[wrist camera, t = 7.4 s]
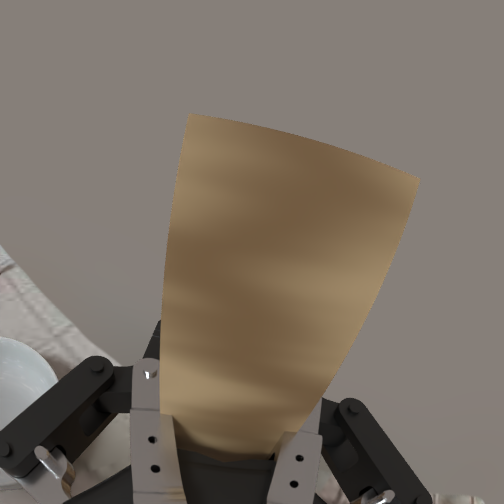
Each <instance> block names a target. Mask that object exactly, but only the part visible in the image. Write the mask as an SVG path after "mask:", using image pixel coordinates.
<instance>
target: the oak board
mask: <svg viewBox="0 0 504 504" xmlns="http://www.w3.org/2000/svg"><path fill="white" fill-rule="evenodd" d="M419 182H420V178H417V177H415V176H412V175H410V174H408V173H406V172H403V171H401V170H398V169H396V168H393V167H391V166H388V165H386V164H383V163H381V162H378V161H375V160H373V159H370V158H367V157H364V156H362V155H359V154H356V153H353V152H350V151H347V150H344V149H341V148H338V147H335V146H332V145H329V144H325V143H322V142H319V141H315V140H312V139H308V138H304V137H301V136H298V135H294V134H290V133H286V132H282V131H278V130H274V129H270V128H266V127H261V126H257V125H252V124H247V123H243V122H238V121H233V120H227V119H222V118H216V117H210V116H204V115H197V114H190V113H189V116H188V121H187V125H186V130H185V135H184V139H183V145H182V150H181V155H180V161H179V166H178V173H177V178H176V185H175V190H174V197H173V204H172V211H171V218H170V226H169V234H168V242H167V252H166V262H165V272H164V284H163V297H162V313H161V333H160V413H162V414H167V415H172V419H173V427H174V435H175V442H176V448H178V449H183V450H188V451H193V452H198V453H200V454H203V455H205V456H208V457H211V458H213V459H216V460H219V461H222V462H231V461H240V460H248V459H258V460H265V459H266V457H267V456H268V455H269V453H270V452H271V450H272V449H273V447H274V446H275V445H276V443H277V442H278V440H279V439H280V437H281V436H282V434H283V433H284V431H290V432H298V431H299V429H300V428H301V426H302V425H303V424H304V422H305V421H306V419H307V418H308V416H309V415H310V413H311V412H312V411H313V409H314V408H315V406H316V405H317V403H318V401H319V400H320V398H321V397H322V395H323V394H324V392H325V391H326V389H327V387H328V386H329V384H330V383H331V381H332V379H333V378H334V376H335V374H336V373H337V371H338V369H339V368H340V366H341V364H342V362H343V361H344V359H345V357H346V355H347V354H348V352H349V350H350V348H351V346H352V344H353V342H354V341H355V339H356V337H357V335H358V333H359V331H360V329H361V327H362V325H363V323H364V321H365V319H366V317H367V315H368V313H369V311H370V309H371V307H372V305H373V303H374V301H375V299H376V296H377V294H378V292H379V290H380V288H381V286H382V283H383V281H384V279H385V276H386V274H387V272H388V269H389V267H390V265H391V262H392V260H393V257H394V255H395V252H396V250H397V247H398V244H399V242H400V239H401V236H402V234H403V231H404V228H405V226H406V223H407V220H408V217H409V214H410V211H411V208H412V205H413V202H414V199H415V196H416V192H417V189H418V186H419Z"/></svg>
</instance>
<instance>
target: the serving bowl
mask: <svg viewBox="0 0 504 504" xmlns="http://www.w3.org/2000/svg"><path fill="white" fill-rule="evenodd" d="M58 381H59V380H58V377H57V375H56V374H55V372H54V370H53V369H52V367H51V366H50V364H49V363H48V362H47V361H46V360H45V359H44V357H43V356H41V355H40V354H39V353H38V352H37V351H36V350H34V349H33V348H31V347H30V346H28V345H26V344H24V343H22V342H20V341H17V340H14V339H11V338H7V337H0V431H1V430H2V429H3V428H4V427H5V426H7V425H8V424H9V423H10V422H11V421H12V420H13V419H15V418H16V417H17V416H18V415H19V414H20V413H22V412H23V411H24V410H25V409H26V408H27V407H29V406H30V405H31V404H32V403H33V402H35V401H36V400H37V399H38V398H39V397H40V396H42V395H43V394H44V393H45V392H46V391H48V390H49V389H50V388H51V387H52V386H54V385H55V384H56V383H57V382H58ZM21 488H23V487H22V486H21V485H20V484H19V483H17V482H16V481H15V480H14V479H12V478H11V477H10V476H9V475H7V474H6V473H5V472H4V470H3V469H2V468H0V490H16V489H21Z"/></svg>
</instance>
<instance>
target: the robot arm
mask: <svg viewBox="0 0 504 504" xmlns="http://www.w3.org/2000/svg"><path fill="white" fill-rule="evenodd" d="M160 333H161V320H160V321H158V324H157V326H156V328H155V330H154V333H153V336H152V338H151V340H150V342H149V345H148V347H147V349H146V352H145V354H144V357H143V359H140V360H139V361H137V362H136V363H135V364H134V365H133V366H128V367H118V366H113V365H112V363H111V362H110V361H109V360H108V359H107V358H105V357H102V356H91V357H88V358H87V359H85V360H84V361H83V362H81V363H80V364H79V365H78V366H77V367H75V368H74V369H73V370H72V371H70V372H69V373H68V374H67V375H66V376H64V377H63V378H62V379H61V380H60V381H58V382H57V383H56V384H55V385H54V386H52V387H51V388H50V389H49V390H48V391H46V392H45V393H44V394H43V395H42V396H40V397H39V398H38V399H37V400H36V401H35V402H33V403H32V404H31V405H30V406H29V407H27V408H26V409H25V410H24V411H23V412H22V413H20V414H19V415H18V416H17V417H16V418H15V419H13V420H12V421H11V422H10V423H9V424H8V425H7V426H5V427H4V428H3V429H2V430H1V431H0V468H2V469H3V470H4V472H5V473H6V474H7V475H9V476H10V477H11V478H12V479H14V480H15V481H16V482H17V483H19V484H20V485H21V486H22V487H23V488H24V489H25V490H26V491H27V492H28V493H29V494H30V495H31V496H32V497H33V498H34V499H35V500H36V501H37V502H38V503H39V504H327V503H326V502H325V501H323V500H322V499H321V498H320V497H319V496H318V495H317V494H316V493H315V488H316V482H317V476H318V469H319V463H320V455H321V454H322V456H323V458H324V459H325V461H326V463H327V464H328V466H329V468H330V470H331V471H332V473H333V475H334V477H335V478H336V480H337V482H338V483H339V485H340V487H341V488H342V490H343V492H344V493H345V495H346V497H347V498H348V500H349V502H350V504H432V503H433V502H432V497H431V495H430V494H429V492H428V491H427V490H426V488H425V487H424V486H423V484H422V483H421V482H420V480H419V479H418V477H417V476H416V475H415V474H414V472H413V471H412V469H411V468H410V466H409V465H408V464H407V462H406V461H405V460H404V458H403V457H402V455H401V454H400V453H399V451H398V450H397V449H396V447H395V446H394V445H393V443H392V442H391V441H390V439H389V438H388V436H387V435H386V434H385V432H384V431H383V430H382V428H381V427H380V426H379V424H378V423H377V421H376V420H375V419H374V417H373V416H372V414H371V413H370V412H369V410H368V409H367V408H366V406H365V405H364V404H363V403H362V402H361V401H359V400H357V399H354V398H346V399H344V400H342V401H341V402H340V403H336V402H333V401H330V400H327V399H324V398H322V397H321V398H320V400H319V401H318V403H317V405H316V406H315V408H314V409H313V411H312V412H311V413H310V415H309V416H308V418H307V419H306V421H305V422H304V424H303V425H302V426H301V428H300V429H299V431H298V432H290V431H284V433H283V434H282V436H281V437H280V439H279V440H278V442H277V443H276V445H275V446H274V447H273V449H272V450H271V452H270V453H269V455H268V456H267V457H266V459H265V460H258V459H248V460H240V461H231V462H222V461H219V460H216V459H213V458H211V457H208V456H205V455H203V454H200V453H198V452H193V451H188V450H183V449H178V448H176V442H175V435H174V427H173V419H172V415H167V414H162V413H160ZM118 413H130V448H131V465H129V466H128V467H126V468H125V469H123V470H121V471H120V472H118V473H116V474H115V475H113V476H111V477H110V478H108V479H106V480H104V481H103V482H101V483H99V484H97V485H95V486H94V487H92V488H90V489H88V490H86V491H84V492H82V493H80V494H79V495H77V496H75V497H73V498H72V496H71V493H70V489H71V485H72V483H73V482H74V479H75V470H74V468H73V466H72V465H71V464H72V463H73V462H74V461H75V460H76V459H77V458H78V457H79V456H80V455H81V453H82V452H83V451H84V450H85V449H86V448H87V447H88V446H89V445H90V444H91V443H92V442H93V441H94V439H95V438H96V437H97V436H98V435H99V434H100V433H101V432H102V431H103V430H104V429H105V428H106V426H107V425H108V424H109V423H110V422H111V421H112V420H113V419H114V418H115V417H116V416H117V415H118Z"/></svg>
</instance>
